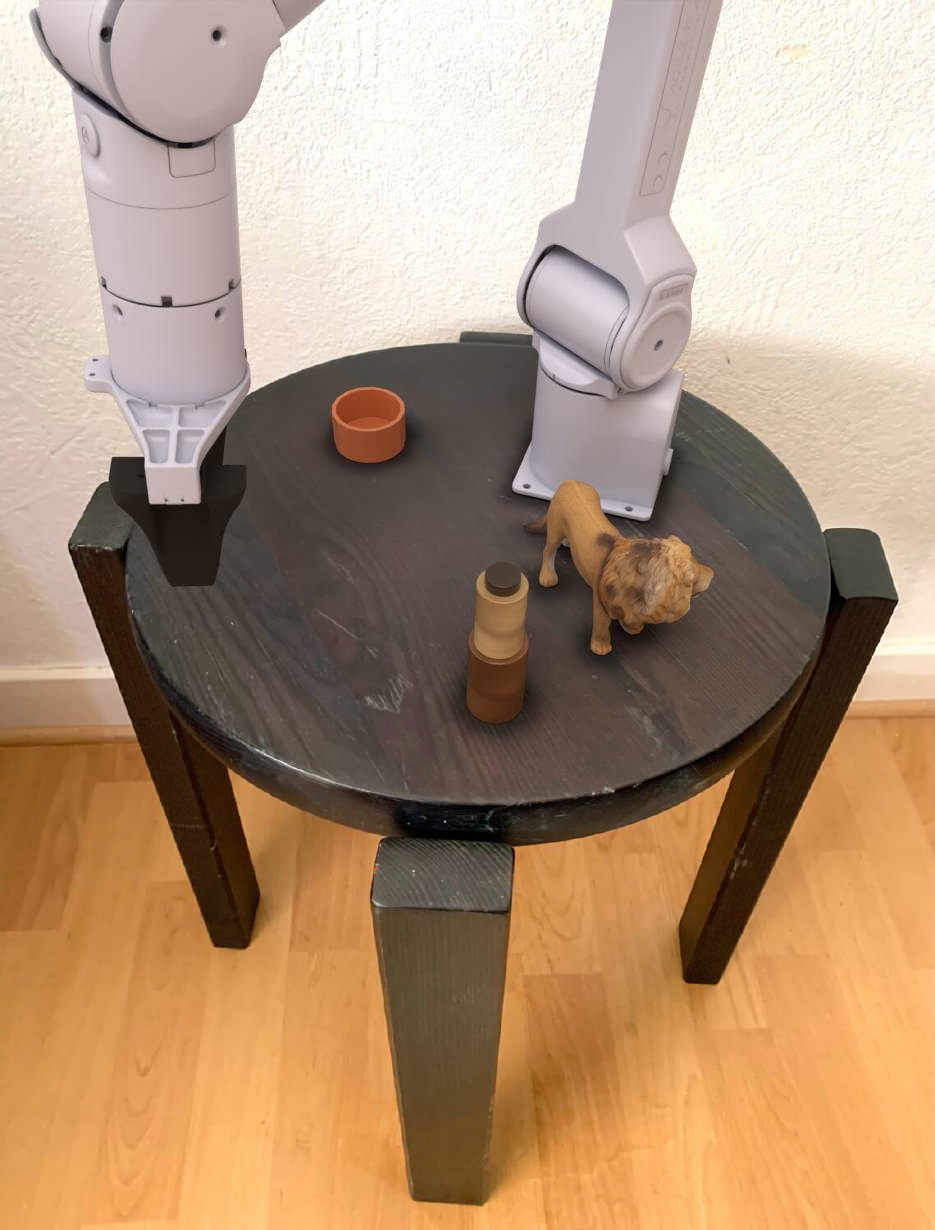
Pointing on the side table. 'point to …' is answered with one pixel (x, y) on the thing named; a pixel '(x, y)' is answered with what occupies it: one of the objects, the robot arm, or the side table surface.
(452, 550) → the side table surface
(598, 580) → the lion figurine
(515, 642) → the pepper mill
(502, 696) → the brown cylinder
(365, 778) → the side table surface
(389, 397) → the terracotta crock
